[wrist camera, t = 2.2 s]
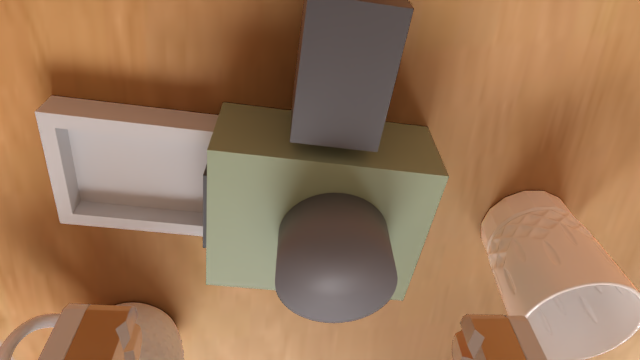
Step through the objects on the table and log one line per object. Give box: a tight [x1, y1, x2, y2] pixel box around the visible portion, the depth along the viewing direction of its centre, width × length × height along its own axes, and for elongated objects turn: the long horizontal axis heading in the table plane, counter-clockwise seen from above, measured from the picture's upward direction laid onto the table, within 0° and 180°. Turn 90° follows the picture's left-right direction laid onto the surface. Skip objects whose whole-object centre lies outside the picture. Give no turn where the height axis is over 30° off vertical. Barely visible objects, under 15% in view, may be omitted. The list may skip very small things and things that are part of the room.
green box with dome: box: [35, 95, 449, 323], centre depth 30 cm, size 25×11×10 cm, turn 82°
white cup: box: [481, 191, 640, 360], centre depth 34 cm, size 8×8×10 cm
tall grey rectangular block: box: [290, 0, 414, 152], centre depth 26 cm, size 5×8×6 cm, turn 172°
